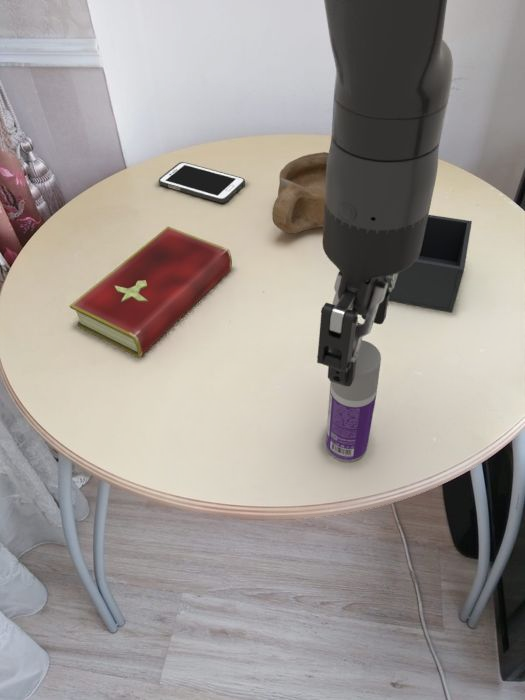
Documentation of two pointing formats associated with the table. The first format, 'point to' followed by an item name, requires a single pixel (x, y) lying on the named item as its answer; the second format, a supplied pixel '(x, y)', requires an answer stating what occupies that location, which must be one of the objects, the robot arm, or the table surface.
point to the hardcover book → (152, 290)
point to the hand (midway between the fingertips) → (357, 348)
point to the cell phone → (202, 182)
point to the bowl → (301, 194)
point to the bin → (435, 266)
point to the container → (353, 407)
